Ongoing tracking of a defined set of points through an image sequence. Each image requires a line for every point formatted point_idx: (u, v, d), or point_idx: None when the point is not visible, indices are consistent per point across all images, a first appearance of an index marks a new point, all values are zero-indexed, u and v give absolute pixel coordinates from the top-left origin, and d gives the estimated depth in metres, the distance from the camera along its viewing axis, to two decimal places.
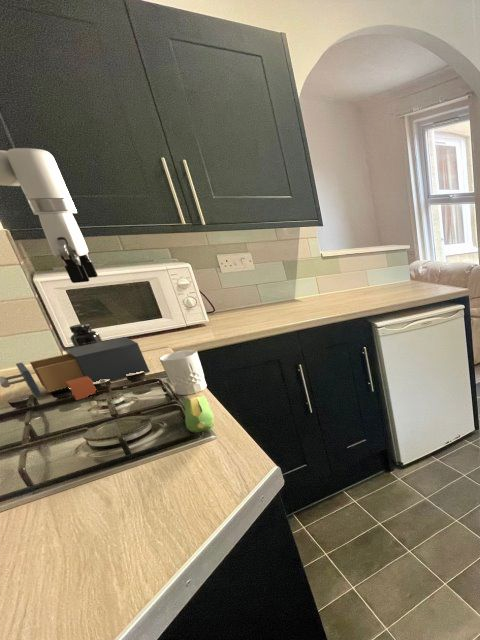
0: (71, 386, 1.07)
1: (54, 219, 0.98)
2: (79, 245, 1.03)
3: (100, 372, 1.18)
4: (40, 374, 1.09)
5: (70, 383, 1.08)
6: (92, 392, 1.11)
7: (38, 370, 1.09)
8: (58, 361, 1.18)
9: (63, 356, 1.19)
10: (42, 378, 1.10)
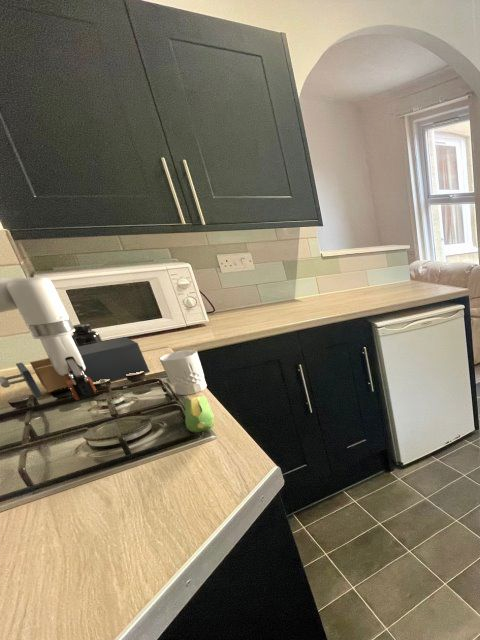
0: (71, 386, 1.07)
1: (62, 341, 1.03)
2: None
3: (100, 372, 1.18)
4: (40, 374, 1.09)
5: (70, 383, 1.08)
6: None
7: (38, 370, 1.09)
8: None
9: None
10: (42, 378, 1.10)
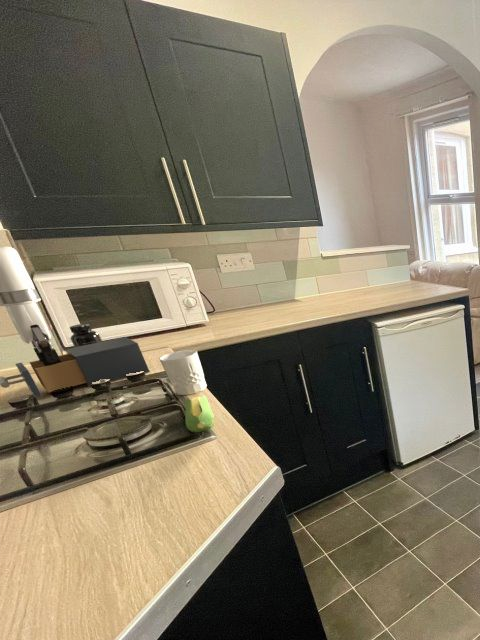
0: None
1: (26, 309, 1.05)
2: None
3: (100, 372, 1.18)
4: (40, 374, 1.09)
5: None
6: None
7: (38, 370, 1.09)
8: None
9: (63, 356, 1.18)
10: (42, 378, 1.10)
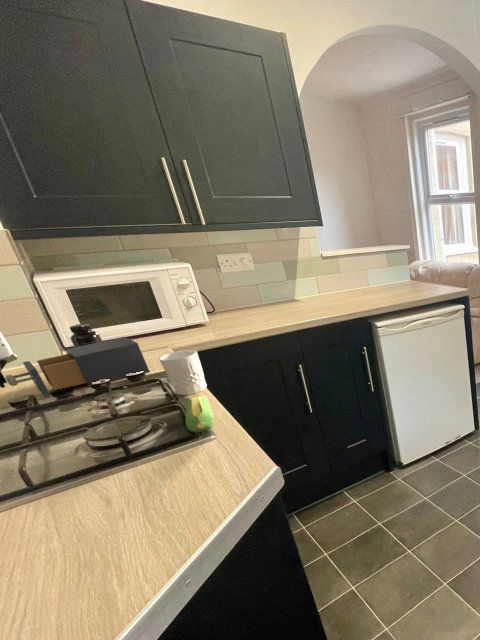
0: None
1: None
2: None
3: (100, 372, 1.18)
4: (47, 372, 1.10)
5: None
6: None
7: (45, 368, 1.10)
8: (64, 360, 1.19)
9: (69, 355, 1.19)
10: (49, 376, 1.11)
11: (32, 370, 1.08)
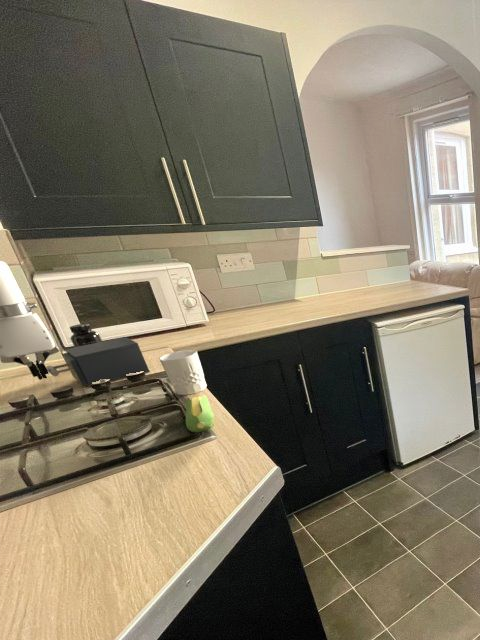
0: None
1: None
2: (9, 348, 1.06)
3: (100, 372, 1.18)
4: None
5: None
6: None
7: None
8: None
9: None
10: None
11: (72, 361, 1.13)
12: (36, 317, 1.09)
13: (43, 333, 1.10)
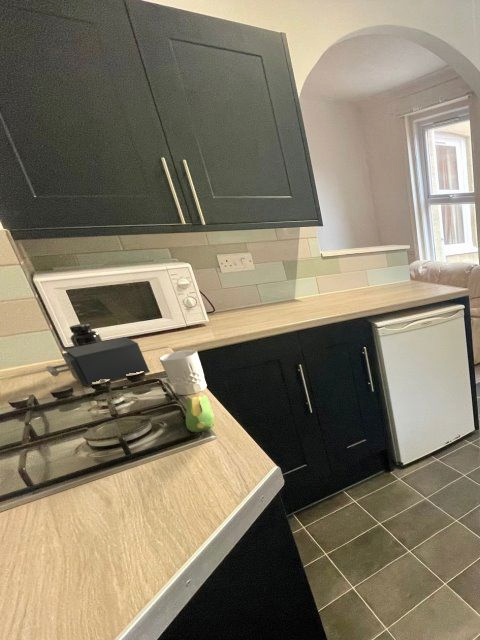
0: None
1: None
2: None
3: (100, 372, 1.18)
4: None
5: None
6: None
7: None
8: None
9: None
10: None
11: (72, 361, 1.13)
12: None
13: None
